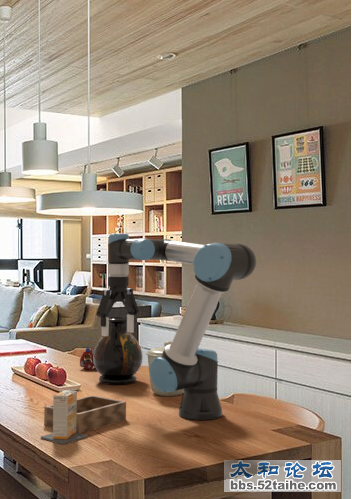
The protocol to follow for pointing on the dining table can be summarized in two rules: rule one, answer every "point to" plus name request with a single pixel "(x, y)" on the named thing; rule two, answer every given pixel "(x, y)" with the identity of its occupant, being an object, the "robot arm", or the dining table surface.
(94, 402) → the crate
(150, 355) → the canister
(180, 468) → the dining table surface
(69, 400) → the supplement box
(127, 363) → the black painted vase
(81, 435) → the mat
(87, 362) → the toy fire truck
